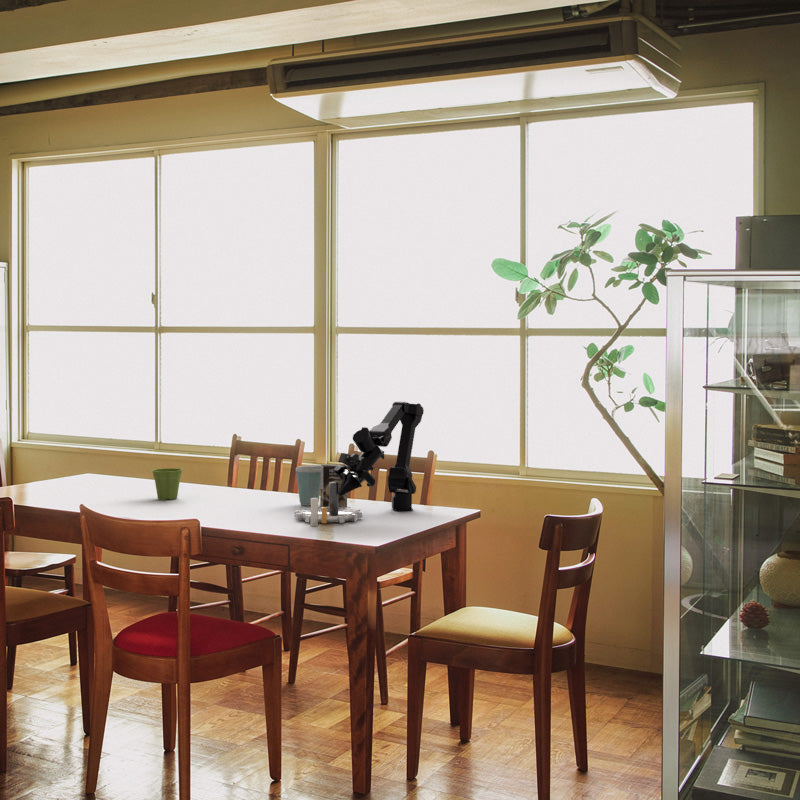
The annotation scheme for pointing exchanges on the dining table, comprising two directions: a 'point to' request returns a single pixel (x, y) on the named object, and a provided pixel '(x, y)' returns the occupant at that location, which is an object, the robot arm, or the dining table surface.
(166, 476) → the plant pot
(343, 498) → the coffee box
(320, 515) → the sprocket
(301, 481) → the disposable coffee cup
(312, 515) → the pointer post
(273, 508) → the dining table surface
